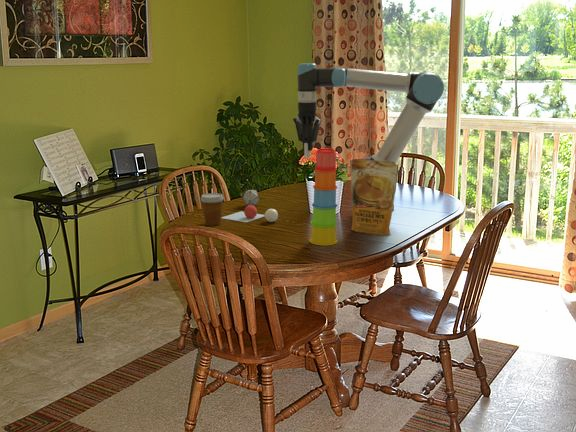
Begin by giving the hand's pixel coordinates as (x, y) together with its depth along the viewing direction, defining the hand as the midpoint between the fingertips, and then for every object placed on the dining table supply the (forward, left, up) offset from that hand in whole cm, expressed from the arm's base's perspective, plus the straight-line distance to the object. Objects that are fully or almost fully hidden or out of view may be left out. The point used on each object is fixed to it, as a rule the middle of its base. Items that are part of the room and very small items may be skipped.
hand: (307, 158), depth 299 cm
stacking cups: (-29, +33, -25) cm, 50 cm away
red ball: (+17, +18, -22) cm, 33 cm away
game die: (+31, 0, -25) cm, 40 cm away
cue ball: (+6, +18, -22) cm, 29 cm away
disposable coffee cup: (+24, +34, -25) cm, 48 cm away
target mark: (+21, +18, -24) cm, 37 cm away
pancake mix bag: (-37, +11, -25) cm, 46 cm away
